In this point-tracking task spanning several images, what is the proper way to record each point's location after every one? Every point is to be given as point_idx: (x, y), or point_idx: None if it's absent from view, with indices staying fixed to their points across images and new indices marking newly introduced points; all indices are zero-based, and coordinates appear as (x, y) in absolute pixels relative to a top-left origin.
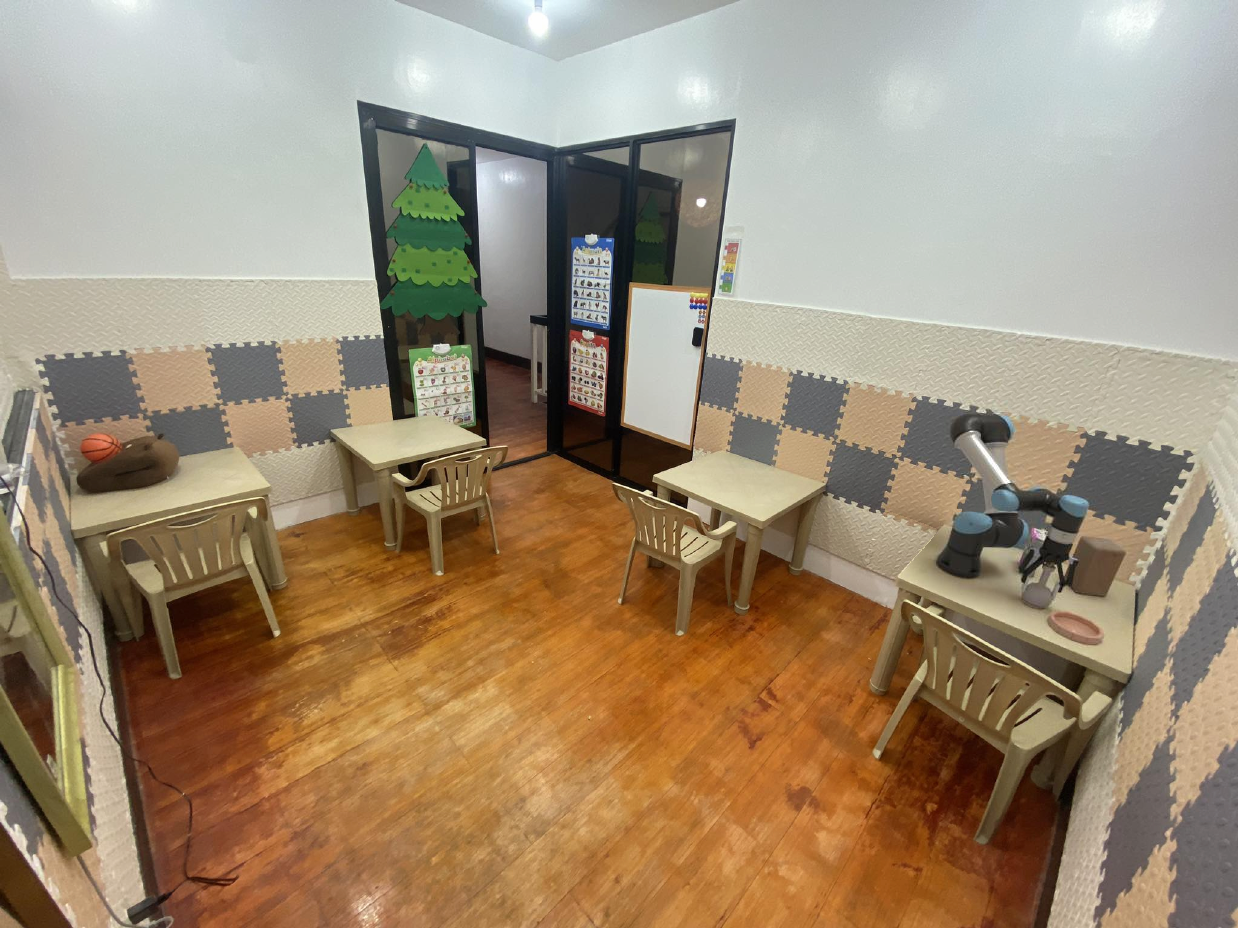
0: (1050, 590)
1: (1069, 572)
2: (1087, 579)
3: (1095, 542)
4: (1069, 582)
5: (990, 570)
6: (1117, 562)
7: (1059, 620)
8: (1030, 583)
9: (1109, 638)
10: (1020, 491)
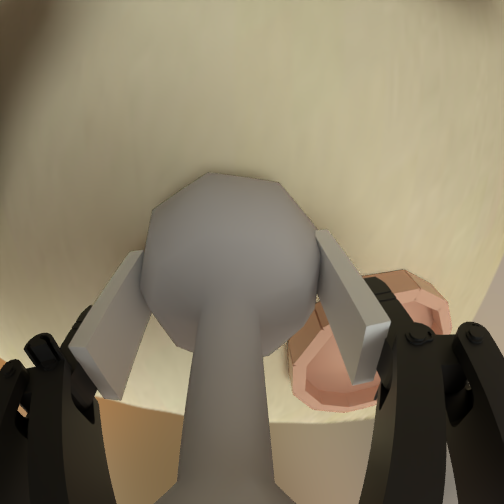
0: (305, 309)
1: (466, 499)
2: None
3: None
4: (446, 403)
5: (28, 32)
6: None
7: (330, 339)
8: (152, 293)
9: (456, 308)
10: None
